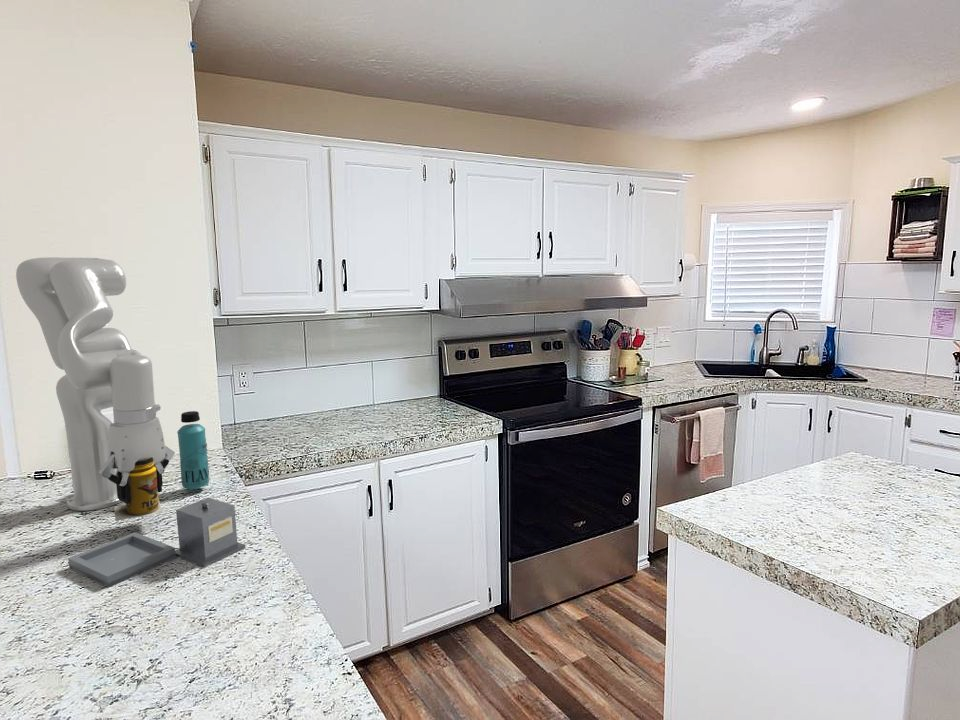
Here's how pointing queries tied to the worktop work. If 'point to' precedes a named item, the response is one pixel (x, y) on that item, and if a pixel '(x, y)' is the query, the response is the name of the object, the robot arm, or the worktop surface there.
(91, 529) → the worktop surface
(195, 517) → the block
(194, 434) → the beverage bottle
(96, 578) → the tray
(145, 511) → the condiment
